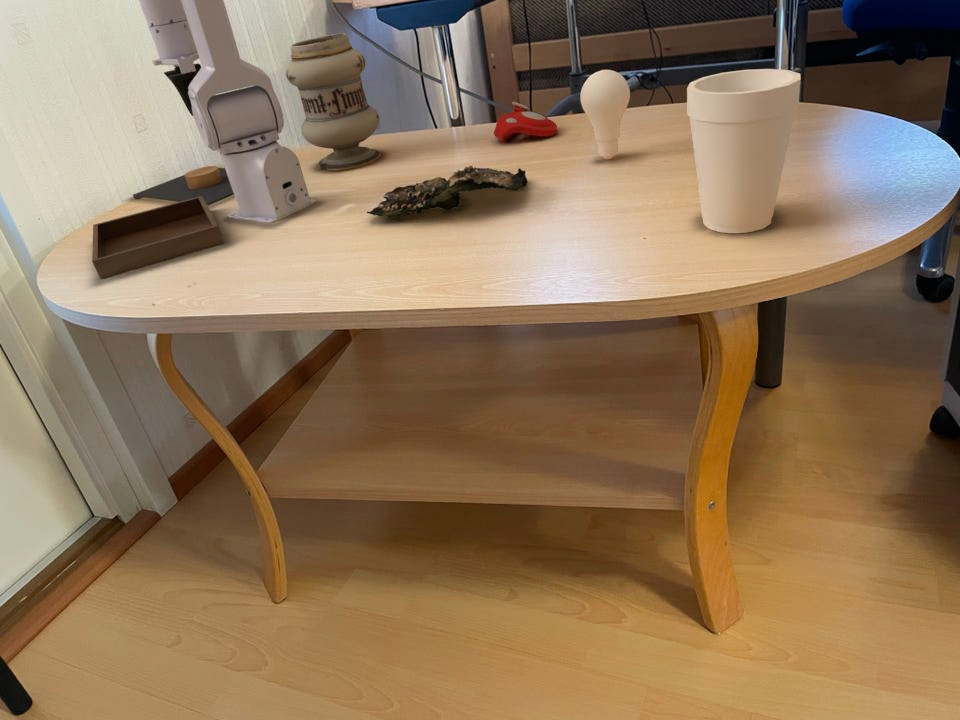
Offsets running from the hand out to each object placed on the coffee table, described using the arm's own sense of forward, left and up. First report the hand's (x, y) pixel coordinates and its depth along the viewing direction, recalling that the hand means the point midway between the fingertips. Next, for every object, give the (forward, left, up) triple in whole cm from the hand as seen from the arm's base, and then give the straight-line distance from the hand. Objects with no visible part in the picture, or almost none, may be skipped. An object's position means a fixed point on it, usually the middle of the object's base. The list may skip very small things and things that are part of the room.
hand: (201, 117), depth 110 cm
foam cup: (-84, +1, -10) cm, 84 cm away
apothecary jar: (-20, -10, -10) cm, 24 cm away
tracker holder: (-43, -27, -10) cm, 52 cm away
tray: (-19, +24, -9) cm, 32 cm away
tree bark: (-50, +3, -10) cm, 51 cm away
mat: (-3, +5, -9) cm, 11 cm away
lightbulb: (-62, -16, -10) cm, 65 cm away
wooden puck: (-3, +5, -9) cm, 11 cm away
